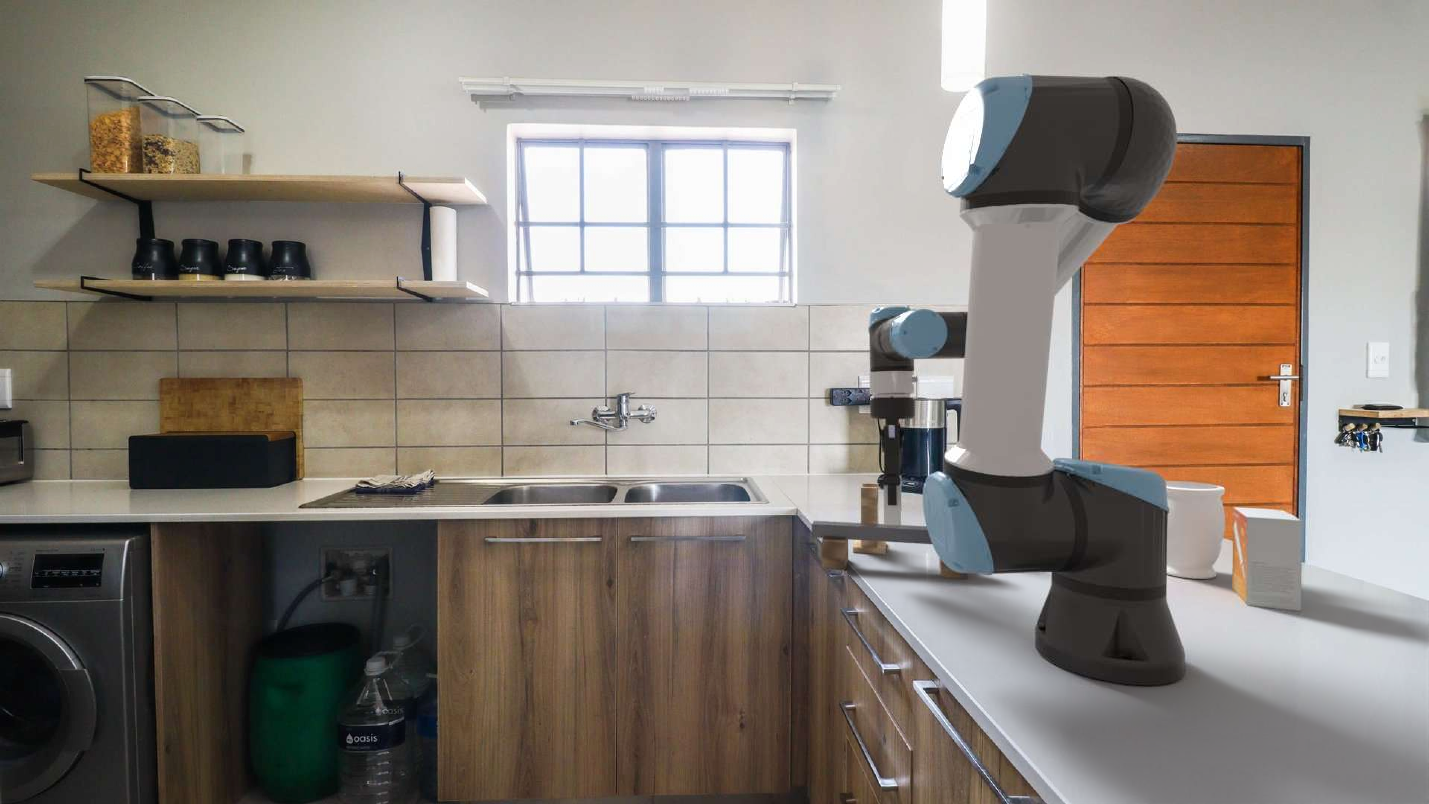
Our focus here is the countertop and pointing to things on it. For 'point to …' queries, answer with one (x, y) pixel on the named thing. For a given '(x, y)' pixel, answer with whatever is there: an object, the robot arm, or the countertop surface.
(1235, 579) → the small box
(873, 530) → the rail
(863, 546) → the hook stand
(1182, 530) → the jar
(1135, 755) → the countertop surface
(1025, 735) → the countertop surface
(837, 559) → the block
